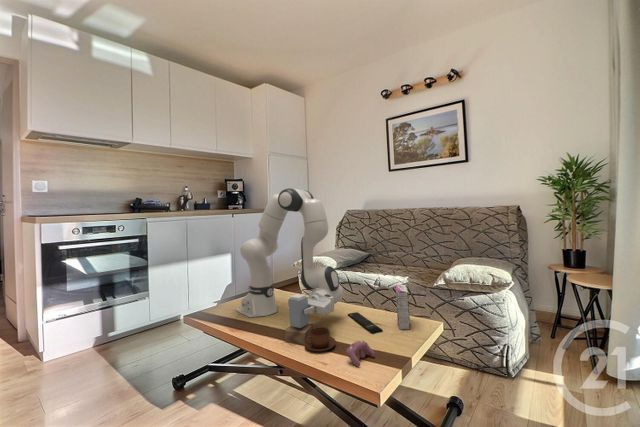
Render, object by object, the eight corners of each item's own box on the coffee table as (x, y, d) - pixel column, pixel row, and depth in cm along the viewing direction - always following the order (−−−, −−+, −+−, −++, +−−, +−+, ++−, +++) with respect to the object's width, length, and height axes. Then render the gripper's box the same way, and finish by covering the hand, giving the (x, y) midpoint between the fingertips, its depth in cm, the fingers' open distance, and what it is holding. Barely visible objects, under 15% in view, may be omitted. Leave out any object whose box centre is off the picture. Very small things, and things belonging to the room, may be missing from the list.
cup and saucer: (322, 357, 110) (321, 340, 109) (298, 349, 117) (297, 333, 117) (342, 344, 119) (341, 329, 119) (318, 337, 126) (317, 322, 126)
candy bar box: (396, 319, 141) (395, 284, 140) (408, 320, 140) (406, 284, 139) (398, 329, 130) (396, 291, 129) (410, 330, 129) (408, 291, 128)
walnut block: (285, 342, 123) (284, 330, 123) (295, 333, 132) (294, 322, 131) (305, 345, 120) (305, 332, 120) (314, 336, 128) (313, 324, 128)
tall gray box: (289, 325, 125) (288, 296, 125) (298, 320, 129) (297, 293, 129) (300, 328, 122) (298, 298, 121) (308, 323, 126) (307, 295, 126)
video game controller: (367, 358, 111) (360, 338, 113) (376, 356, 108) (368, 336, 110) (350, 369, 104) (342, 348, 106) (359, 367, 101) (350, 345, 103)
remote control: (371, 335, 127) (371, 332, 127) (347, 316, 150) (347, 313, 149) (382, 333, 129) (382, 329, 129) (357, 314, 151) (357, 311, 151)
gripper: (299, 290, 142) (278, 298, 131) (336, 297, 129) (316, 306, 118) (300, 304, 142) (279, 313, 131) (337, 312, 130) (317, 323, 119)
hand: (297, 310), depth 125 cm, fingers closed on tall gray box, 5 cm apart
